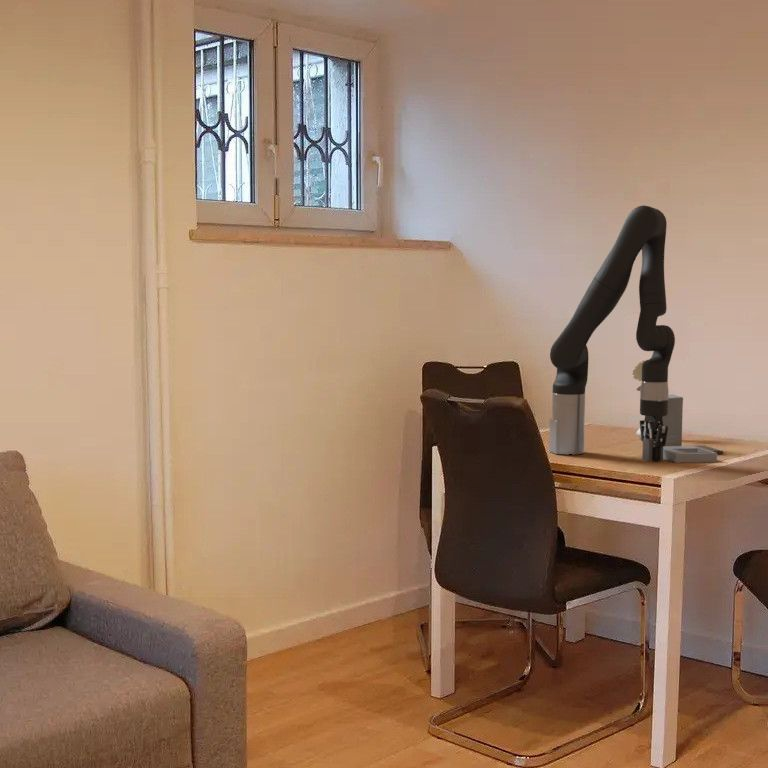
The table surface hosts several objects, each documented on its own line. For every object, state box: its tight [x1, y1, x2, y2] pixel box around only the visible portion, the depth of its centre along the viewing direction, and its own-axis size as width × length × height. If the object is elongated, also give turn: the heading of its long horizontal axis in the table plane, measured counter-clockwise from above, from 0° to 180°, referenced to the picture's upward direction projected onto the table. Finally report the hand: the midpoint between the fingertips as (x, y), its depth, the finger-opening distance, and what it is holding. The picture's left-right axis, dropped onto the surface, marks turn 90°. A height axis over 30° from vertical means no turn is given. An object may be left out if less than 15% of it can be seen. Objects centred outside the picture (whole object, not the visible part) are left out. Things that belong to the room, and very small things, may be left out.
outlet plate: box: [663, 445, 718, 464], centre depth 312 cm, size 12×14×2 cm
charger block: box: [641, 438, 664, 463], centre depth 308 cm, size 4×4×6 cm
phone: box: [693, 444, 724, 455], centre depth 325 cm, size 12×6×1 cm, turn 10°
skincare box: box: [662, 394, 684, 446], centre depth 329 cm, size 8×7×16 cm
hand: (652, 459), depth 308 cm, fingers closed on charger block, 4 cm apart
